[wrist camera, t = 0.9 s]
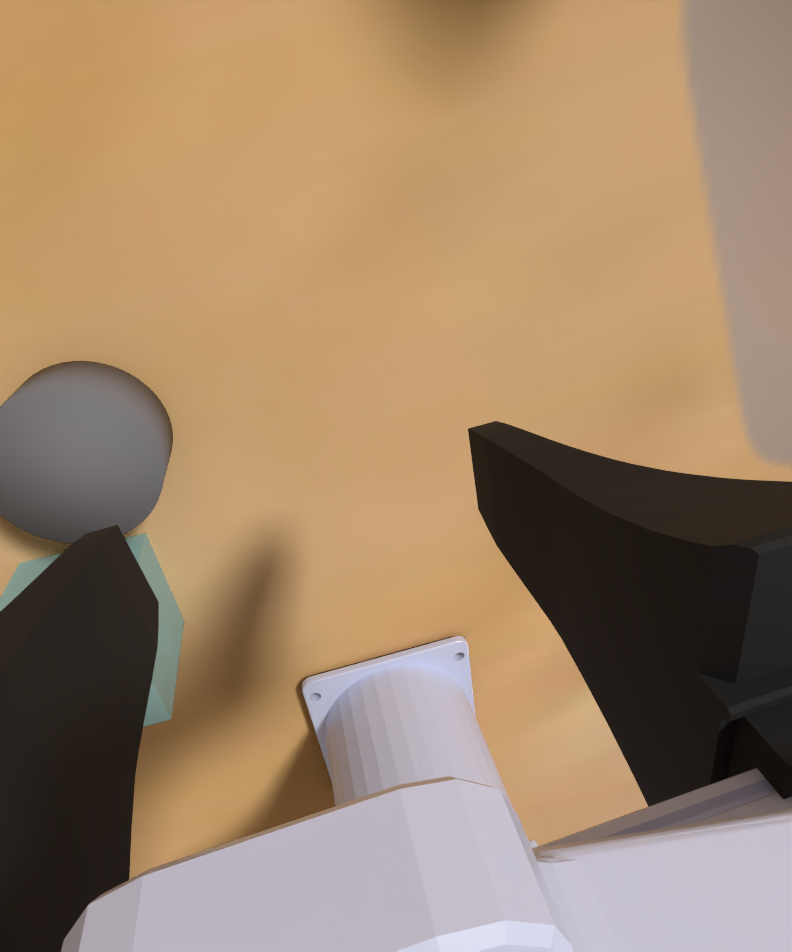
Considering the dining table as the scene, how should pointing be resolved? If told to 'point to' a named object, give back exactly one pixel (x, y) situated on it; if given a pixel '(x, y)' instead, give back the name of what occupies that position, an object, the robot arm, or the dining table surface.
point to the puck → (81, 451)
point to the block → (167, 632)
